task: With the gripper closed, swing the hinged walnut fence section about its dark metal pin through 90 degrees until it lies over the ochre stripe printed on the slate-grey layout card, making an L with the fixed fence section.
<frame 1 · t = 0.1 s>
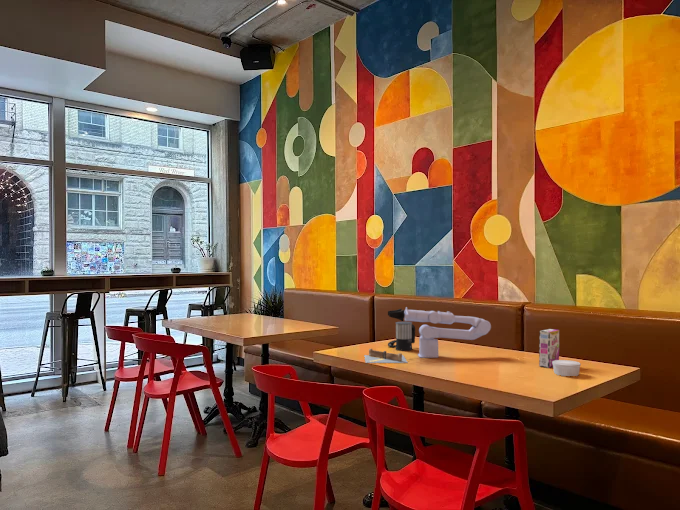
hand: (388, 313, 262), 22 cm above the table, tool horizontal, fingers open, 7 cm apart
ramekin: (566, 375, 220), on the table
milk frother: (399, 348, 286), on the table
candy bar box: (549, 366, 238), on the table
layout card: (385, 359, 255), on the table
fence fixed: (385, 358, 255), resting on layout card
fence swing: (394, 356, 251), point 2 cm above the table, hinge at 90.0°
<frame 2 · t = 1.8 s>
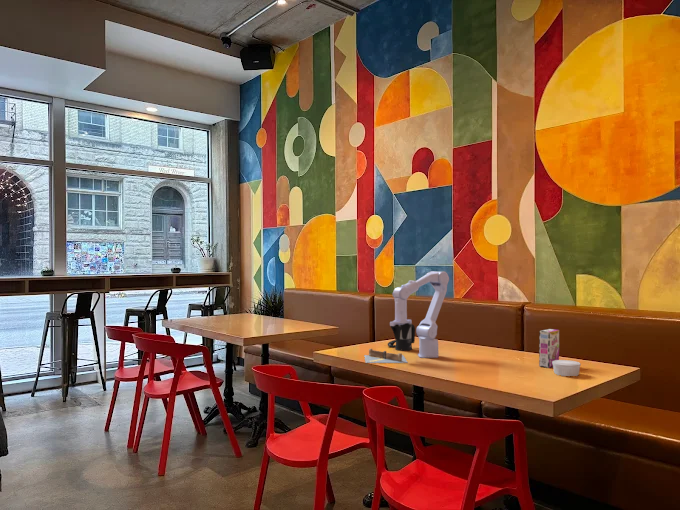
hand: (401, 339, 253), 10 cm above the table, tool pointing down, fingers open, 5 cm apart
nothing on the table moved.
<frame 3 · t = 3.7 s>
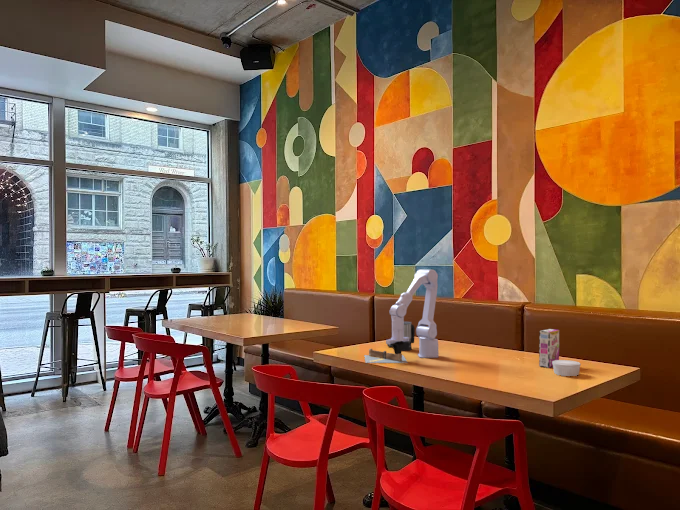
hand: (397, 357, 252), 1 cm above the table, tool pointing down, fingers closed
fence swing: (394, 356, 251), point 2 cm above the table, hinge at 89.9°, touching gripper
everything else where it was.
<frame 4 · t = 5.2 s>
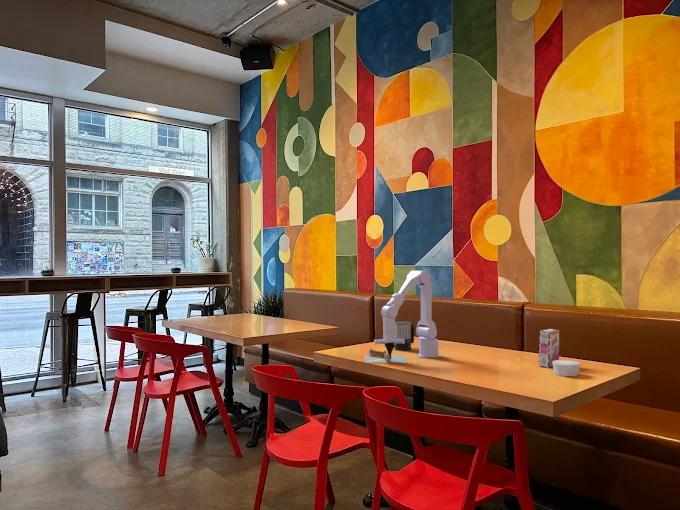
hand: (389, 358, 249), 1 cm above the table, tool pointing down, fingers closed, pressing on fence swing
fence swing: (386, 356, 250), point 2 cm above the table, hinge at 49.8°, touching gripper
everything else where it was.
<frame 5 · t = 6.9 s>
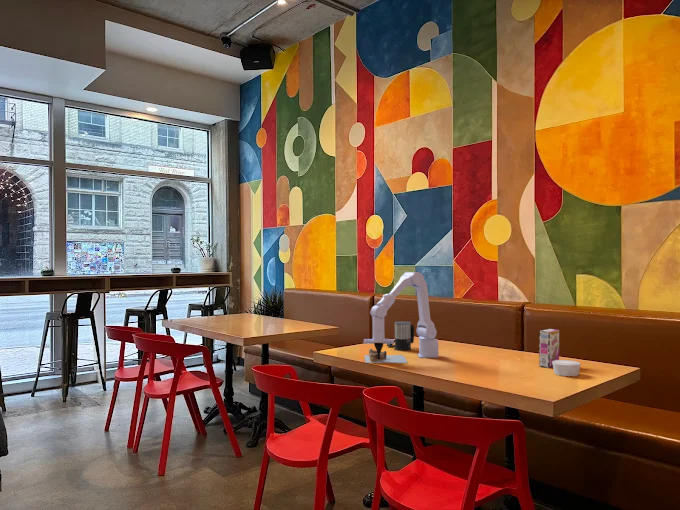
hand: (378, 358, 250), 1 cm above the table, tool pointing down, fingers closed, pressing on fence swing
fence swing: (376, 356, 251), point 2 cm above the table, hinge at -1.9°, touching gripper
everything else where it was.
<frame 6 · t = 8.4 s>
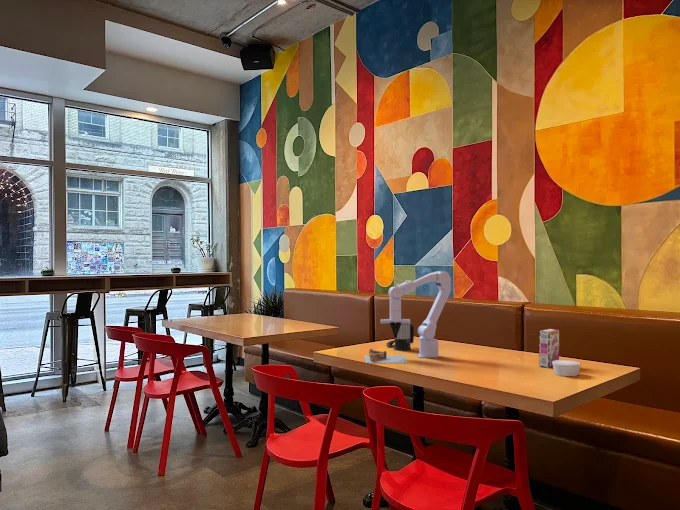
hand: (395, 337, 259), 10 cm above the table, tool pointing down, fingers closed
fence swing: (376, 356, 251), point 2 cm above the table, hinge at -2.0°
everything else where it was.
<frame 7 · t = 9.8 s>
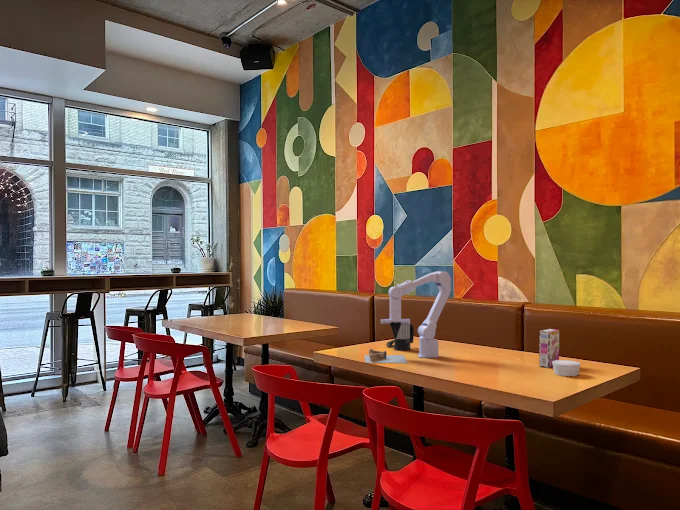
hand: (395, 337, 259), 10 cm above the table, tool pointing down, fingers closed
nothing on the table moved.
at the end: fence swing at -2° (first picture: +90°) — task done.
